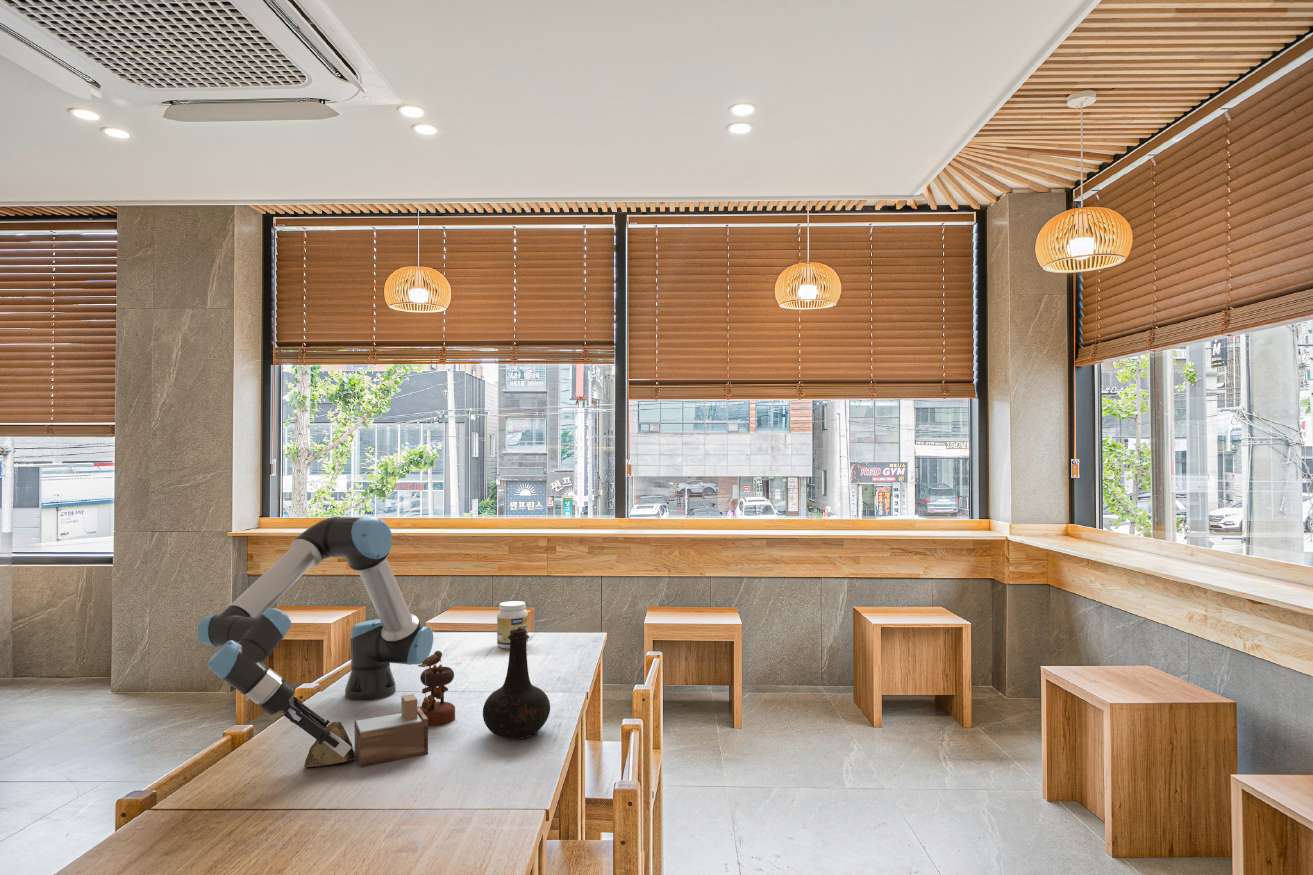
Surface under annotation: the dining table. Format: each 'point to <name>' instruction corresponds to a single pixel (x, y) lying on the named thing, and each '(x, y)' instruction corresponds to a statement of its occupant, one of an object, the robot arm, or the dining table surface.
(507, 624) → the supplement tub
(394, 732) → the box
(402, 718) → the lid
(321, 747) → the rock
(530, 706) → the glass bottle
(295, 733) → the dining table surface
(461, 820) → the dining table surface
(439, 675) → the wooden bird figurine
